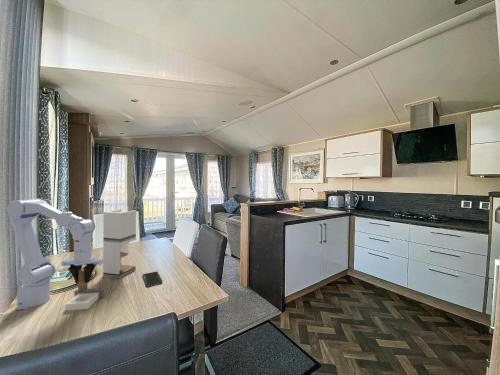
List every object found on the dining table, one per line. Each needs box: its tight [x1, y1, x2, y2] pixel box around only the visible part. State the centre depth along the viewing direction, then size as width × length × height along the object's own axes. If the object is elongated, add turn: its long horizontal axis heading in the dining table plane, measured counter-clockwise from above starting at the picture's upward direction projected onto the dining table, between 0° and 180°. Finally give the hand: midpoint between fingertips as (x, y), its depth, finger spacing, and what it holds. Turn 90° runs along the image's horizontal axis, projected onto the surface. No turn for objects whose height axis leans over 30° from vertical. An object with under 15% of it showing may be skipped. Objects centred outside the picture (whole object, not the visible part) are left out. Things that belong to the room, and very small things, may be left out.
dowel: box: [77, 268, 88, 292], centre depth 88 cm, size 3×3×8 cm
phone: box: [142, 271, 163, 288], centre depth 113 cm, size 8×1×15 cm
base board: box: [73, 287, 105, 299], centre depth 85 cm, size 11×17×4 cm, turn 9°
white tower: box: [102, 209, 137, 279], centre depth 119 cm, size 11×11×35 cm
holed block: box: [64, 293, 100, 311], centre depth 88 cm, size 8×8×2 cm
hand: (82, 282), depth 88 cm, fingers closed on dowel, 3 cm apart
